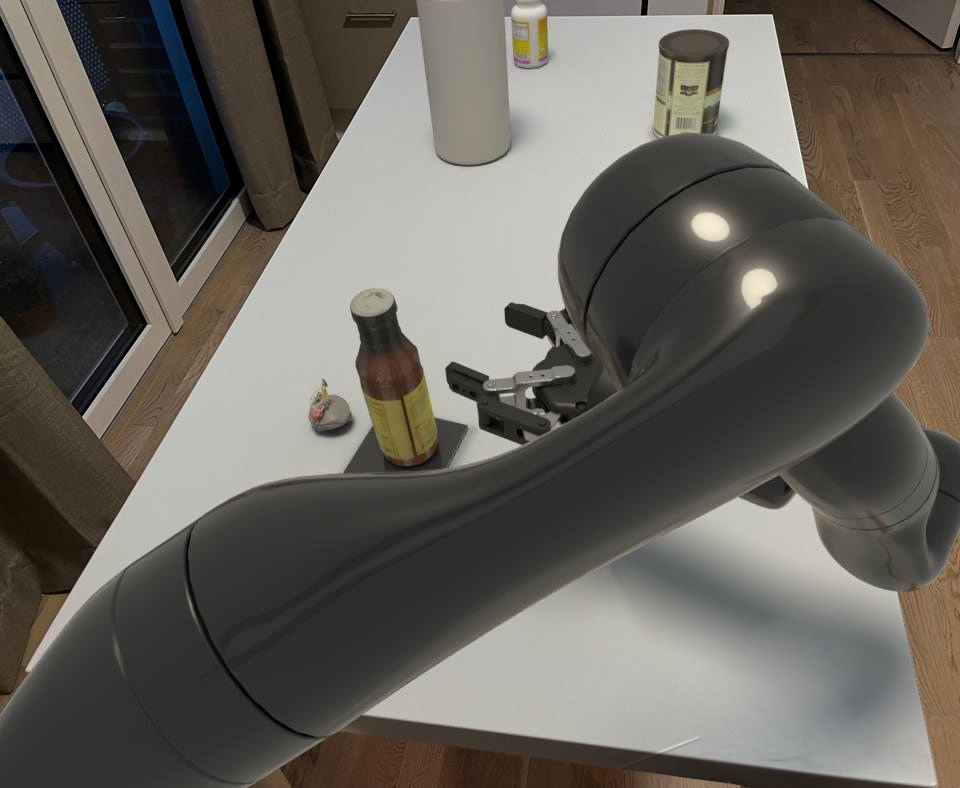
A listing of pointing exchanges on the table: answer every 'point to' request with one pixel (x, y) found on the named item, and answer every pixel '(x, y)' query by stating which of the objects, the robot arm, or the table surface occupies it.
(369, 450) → the slate coaster
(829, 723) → the table surface
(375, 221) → the table surface
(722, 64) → the coffee can
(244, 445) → the table surface
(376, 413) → the sauce bottle
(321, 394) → the figurine
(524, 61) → the supplement bottle
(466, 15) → the cylinder vase
